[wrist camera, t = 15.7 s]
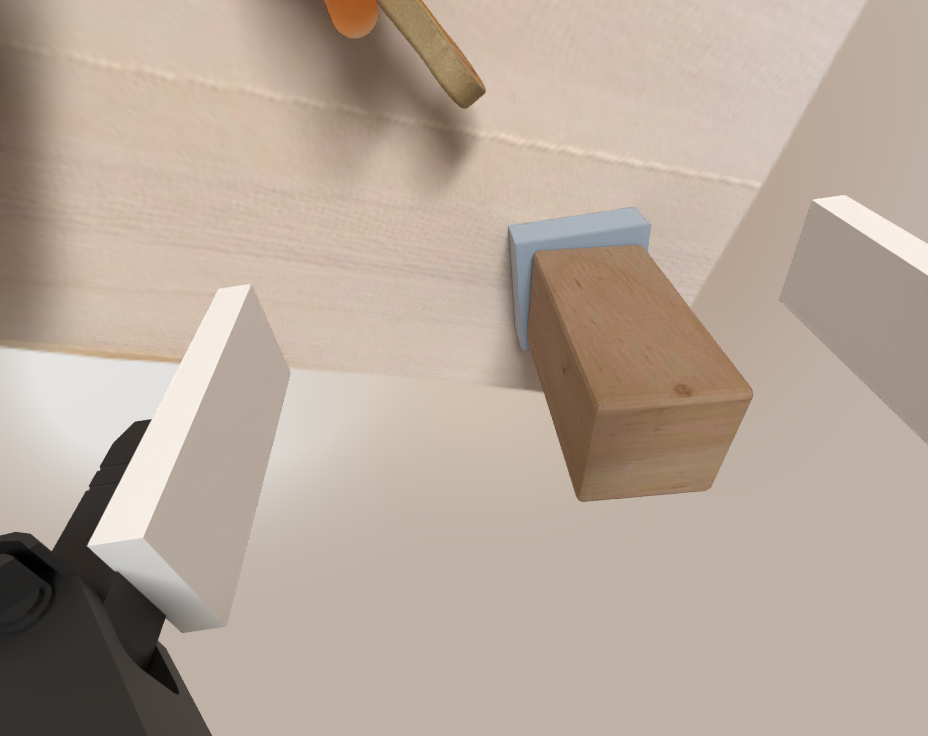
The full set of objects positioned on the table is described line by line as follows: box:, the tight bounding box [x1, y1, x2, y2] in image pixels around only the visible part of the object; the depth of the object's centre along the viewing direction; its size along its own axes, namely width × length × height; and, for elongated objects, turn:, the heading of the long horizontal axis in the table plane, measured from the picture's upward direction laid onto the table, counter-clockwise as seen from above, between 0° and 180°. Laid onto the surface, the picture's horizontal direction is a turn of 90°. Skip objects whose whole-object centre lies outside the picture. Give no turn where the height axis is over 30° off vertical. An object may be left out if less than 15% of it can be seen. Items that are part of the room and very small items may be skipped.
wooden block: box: [527, 245, 753, 502], centre depth 42 cm, size 10×10×20 cm
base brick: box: [509, 207, 651, 351], centre depth 51 cm, size 12×12×4 cm
